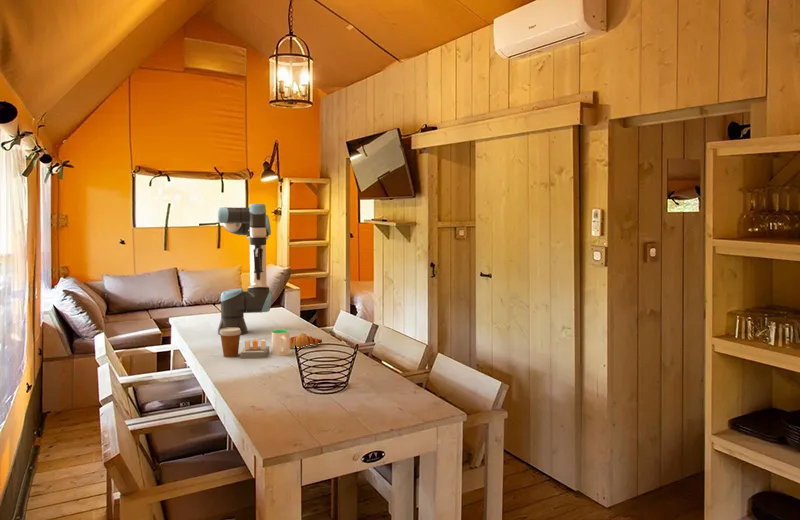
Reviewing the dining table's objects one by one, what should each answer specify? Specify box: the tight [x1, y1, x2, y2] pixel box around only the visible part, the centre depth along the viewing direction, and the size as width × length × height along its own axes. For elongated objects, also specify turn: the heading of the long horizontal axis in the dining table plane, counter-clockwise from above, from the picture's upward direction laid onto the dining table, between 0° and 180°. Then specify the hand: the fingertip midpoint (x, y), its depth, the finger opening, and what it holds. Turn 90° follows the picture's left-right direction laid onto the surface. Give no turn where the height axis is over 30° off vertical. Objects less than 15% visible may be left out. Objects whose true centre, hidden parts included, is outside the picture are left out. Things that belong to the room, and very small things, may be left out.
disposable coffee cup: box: [219, 327, 242, 358], centre depth 267 cm, size 10×10×12 cm
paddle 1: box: [244, 339, 251, 350], centre depth 268 cm, size 3×2×4 cm, turn 6°
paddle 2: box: [252, 339, 259, 350], centre depth 269 cm, size 3×2×4 cm, turn 6°
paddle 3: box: [260, 339, 267, 350], centre depth 269 cm, size 3×2×4 cm, turn 6°
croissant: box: [290, 332, 323, 350], centre depth 285 cm, size 21×10×8 cm
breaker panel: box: [240, 345, 270, 359], centre depth 269 cm, size 12×11×3 cm
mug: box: [271, 329, 291, 357], centre depth 270 cm, size 12×8×10 cm, turn 31°
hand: (258, 286), depth 280 cm, fingers closed
